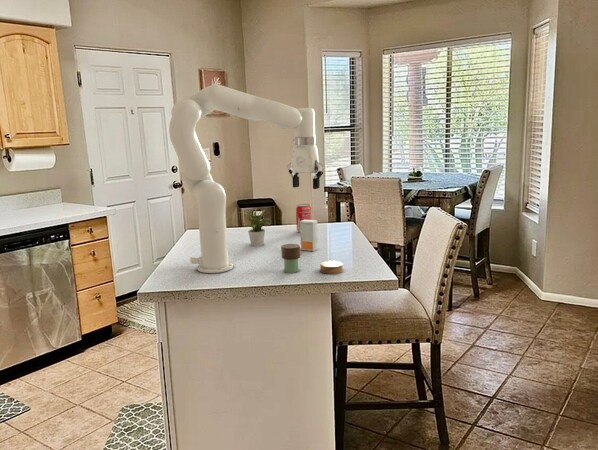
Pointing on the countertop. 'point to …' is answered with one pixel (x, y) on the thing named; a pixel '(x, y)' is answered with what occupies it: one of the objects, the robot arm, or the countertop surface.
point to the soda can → (302, 214)
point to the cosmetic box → (308, 235)
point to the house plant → (257, 228)
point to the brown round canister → (290, 251)
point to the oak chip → (331, 267)
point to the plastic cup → (291, 265)
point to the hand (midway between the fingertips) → (305, 187)
